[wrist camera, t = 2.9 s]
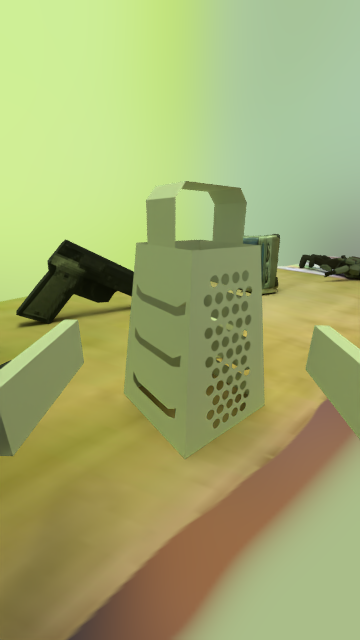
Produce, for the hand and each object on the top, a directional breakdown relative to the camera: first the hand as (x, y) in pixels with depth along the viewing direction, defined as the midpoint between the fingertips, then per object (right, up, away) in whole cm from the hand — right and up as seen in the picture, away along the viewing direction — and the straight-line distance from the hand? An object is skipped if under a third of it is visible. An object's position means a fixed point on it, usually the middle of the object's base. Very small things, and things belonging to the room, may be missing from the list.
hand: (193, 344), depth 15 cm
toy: (+56, +18, +79) cm, 99 cm away
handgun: (-17, +2, +38) cm, 41 cm away
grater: (0, -7, +13) cm, 15 cm away
